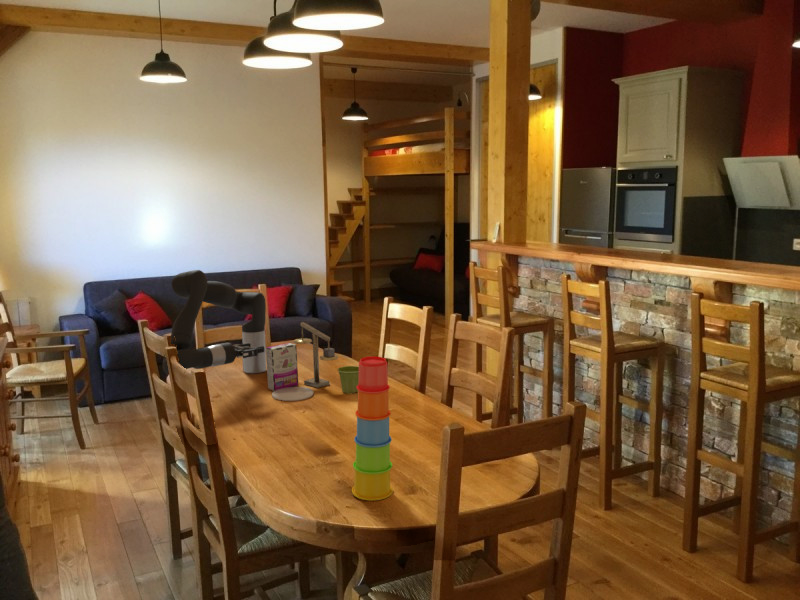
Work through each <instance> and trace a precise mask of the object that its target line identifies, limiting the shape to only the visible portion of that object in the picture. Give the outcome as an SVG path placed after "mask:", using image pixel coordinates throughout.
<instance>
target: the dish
mask: <svg viewBox="0 0 800 600" xmlns="http://www.w3.org/2000/svg"><path fill="white" fill-rule="evenodd" d="M271 395H272V397H271V398H273V399H274V400H276V399H278V400H277V401H281V400H282V401H283V402H295V401H296V402H297V401H303V400H307V399H309V398H311V397H313V395H314V390H313V389H312V388H310V387H306V386H305V387H304V386H294V387H286V388H281V389H278V390H275V391H272V393H271Z"/></svg>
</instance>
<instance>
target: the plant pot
mask: <svg viewBox="0 0 800 600" xmlns="http://www.w3.org/2000/svg"><path fill="white" fill-rule="evenodd" d="M337 371H338V375H339V378H340V379H339V381H340V385H341V391H342V393H344V394H350V395H351V393H352V394H355V393H358V390H357V388H356V387H357V385H358V382H359V365H358V366H357V365H356V366H355V365H345V366H341V367H338V368H337Z"/></svg>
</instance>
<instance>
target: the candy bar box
mask: <svg viewBox="0 0 800 600" xmlns="http://www.w3.org/2000/svg"><path fill="white" fill-rule="evenodd" d="M265 348H266V375H267V388H268V390H270V389H271V390H270V391H272V392H274V391H275V390H278V389H281V388H286V387H299V372H298V371H299V369H298V368H299V367H298V353H297V352H298V351H297V343H293V342H287V343H282V344H278V345H273V346H268V347H265Z"/></svg>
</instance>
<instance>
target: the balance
mask: <svg viewBox="0 0 800 600" xmlns="http://www.w3.org/2000/svg"><path fill="white" fill-rule="evenodd" d="M300 326H301V338H296V339H294V340H293V344H296V345H297V344H298V345H299V344H300V345H304V344H310V343H312V354H313V355H312V357H313V378H309V379H306V380H304V381H303V383H304V386H305V385H306V386H310V387H312V388H316V389H318V388H319V389H320V388H322V387H323V388H324V387H326V386H330V380H327V379H323V378H320V364H319V363H320V360H322V361H335V360H338V359H339V355H337V354H335V351H336V350H335V348H333V347H330V341H331V337H330V336H328V335H326V334H325V333H323V332H321V331H320V330H318V329H316V328H315V327H313V326H312V325H310V324H308V323H306V322H303V321H302V322H300ZM304 329H305V330H307V331H308V332H310V333H312V339H311V338H306V337H305V338H304ZM319 338H321V339H322V340H324V341H326V342H327V348H323V349H322V351H323V352H322V353H323V354H322V355H320V356H319ZM319 359H320V360H319Z"/></svg>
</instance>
